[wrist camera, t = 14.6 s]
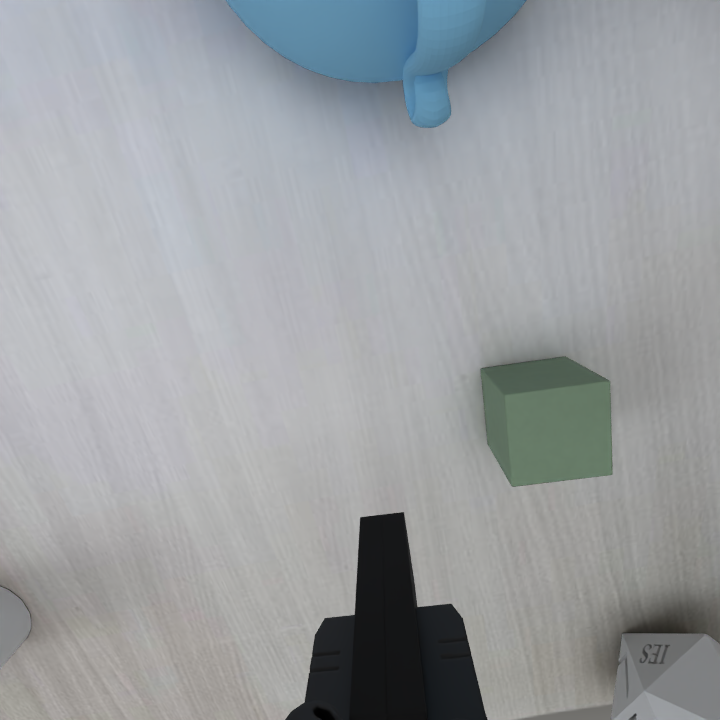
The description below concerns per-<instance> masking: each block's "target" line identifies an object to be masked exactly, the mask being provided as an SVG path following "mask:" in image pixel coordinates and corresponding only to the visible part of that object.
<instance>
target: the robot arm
mask: <svg viewBox="0 0 720 720" xmlns="http://www.w3.org/2000/svg"><path fill="white" fill-rule="evenodd" d="M285 720H487V717H486V714H485V710H484V706H483V702H482V697H481V693H480V689H479V685H478V681H477V677H476V672H475V668H474V664H473V660H472V656H471V651H470V647H469V643H468V639H467V635H466V630H465V626H464V622H463V618H462V617H461V616H460V614H459V613H458V612H457V611H456V609H455V608H454V607H453V605H452V604H445V605H435V606H425V607H417V600H416V592H415V583H414V576H413V569H412V563H411V556H410V550H409V543H408V537H407V530H406V523H405V517H404V512H401V513H393V514H385V515H376V516H368V517H360V532H359V550H358V568H357V586H356V604H355V615H351V616H342V617H332V618H325V619H324V621H323V622H322V624H321V626H320V628H319V629H318V631H317V633H316V634H315V639H314V646H313V652H312V659H311V665H310V673H309V678H308V684H307V691H306V697H305V703H303V704H302V705H300V706H299V707H297V708H296V709H294V710H293V711H292V712H291V713H290V714H289V715H288V717H287V718H286V719H285Z"/></svg>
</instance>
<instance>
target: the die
mask: <svg viewBox="0 0 720 720" xmlns="http://www.w3.org/2000/svg"><path fill="white" fill-rule="evenodd" d="M619 663H620V664H619V666H618V669H617V676H616V684H615V691H614V698H613V706H612V713H611V720H720V644H719V643H718V642H717V641H715V640H714V639H713V638H711V637H710V636H709V635H707V634H653V633H622V640H621V647H620V655H619Z"/></svg>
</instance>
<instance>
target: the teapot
mask: <svg viewBox="0 0 720 720" xmlns="http://www.w3.org/2000/svg"><path fill="white" fill-rule="evenodd" d="M226 1H227V3H228V4H229V6H230V7H231V8H232V9H233V11H234V12H235V13H236V14H237V15H238V17H239V18H240V19H241V20H242V21H243V23H244V24H245V25H246V26H247V27H248V28H249V29H250V30H251V31H252V32H253V33H254V34H256V35H257V36H258V37H259V38H260V39H261V40H262V41H263V42H264V43H265V44H267V45H268V46H269V47H271V48H272V49H274V50H275V51H276V52H278V53H279V54H281V55H282V56H283V57H285V58H287V59H289V60H290V61H292V62H294V63H296V64H298V65H300V66H302V67H304V68H306V69H308V70H311V71H314V72H316V73H319V74H322V75H325V76H328V77H332V78H337V79H342V80H347V81H352V82H371V83H378V82H389V81H399V80H403V89H404V96H405V101H406V106H407V110H408V113H409V116H410V119H411V121H412V123H413V124H415V125H416V126H418V127H423V128H432V127H437V126H439V125H441V124H443V123H444V122H445V121H447V120H448V119H449V117H450V115H451V106H450V100H449V96H448V90H447V74H448V69H449V68H450V67H452V66H454V65H455V64H457V63H459V62H460V61H461V60H462V59H464V58H465V57H466V56H467V55H468V54H469V53H471V52H472V51H474V50H475V49H476V48H478V47H479V46H480V45H482V44H483V43H484V42H486V41H487V40H488V39H490V38H491V37H492V36H494V35H495V34H496V33H497V32H498V31H499V30H500V29H501V28H502V27H503V26H504V25H505V24H506V23H507V22H508V21H509V20H510V19H511V18H512V17H513V16H514V15H515V14H516V13H517V12H518V10H519V9H520V8H521V7H522V5H523V4H524V3H525V2H526V0H226Z"/></svg>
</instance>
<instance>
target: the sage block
mask: <svg viewBox="0 0 720 720" xmlns="http://www.w3.org/2000/svg"><path fill="white" fill-rule="evenodd" d="M481 379H482V389H483V400H484V410H485V420H486V431H487V441H488V446H489V447H490V449H491V451H492V453H493V454H494V456H495V458H496V460H497V461H498V463H499V465H500V467H501V468H502V470H503V472H504V474H505V475H506V477H507V479H508V480H509V482H510V484H511V486H513V487H515V486H523V485H532V484H540V483H548V482H557V481H565V480H573V479H582V478H590V477H599V476H607V475H612V436H611V397H610V381H609V380H608V379H606V378H604V377H602V376H600V375H599V374H597V373H595V372H593V371H591V370H589V369H588V368H586V367H584V366H582V365H580V364H579V363H577V362H575V361H573V360H571V359H569V358H568V357H559V358H552V359H545V360H538V361H531V362H524V363H516V364H509V365H502V366H495V367H488V368H482V369H481Z"/></svg>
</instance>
